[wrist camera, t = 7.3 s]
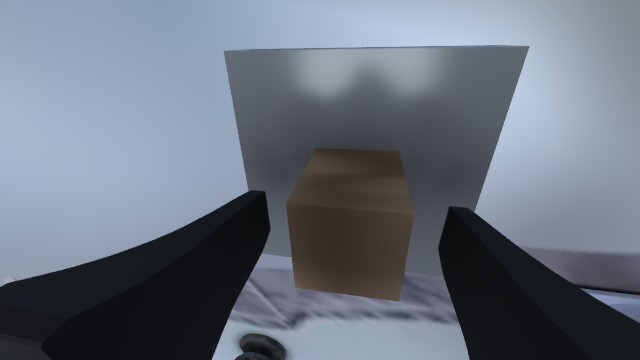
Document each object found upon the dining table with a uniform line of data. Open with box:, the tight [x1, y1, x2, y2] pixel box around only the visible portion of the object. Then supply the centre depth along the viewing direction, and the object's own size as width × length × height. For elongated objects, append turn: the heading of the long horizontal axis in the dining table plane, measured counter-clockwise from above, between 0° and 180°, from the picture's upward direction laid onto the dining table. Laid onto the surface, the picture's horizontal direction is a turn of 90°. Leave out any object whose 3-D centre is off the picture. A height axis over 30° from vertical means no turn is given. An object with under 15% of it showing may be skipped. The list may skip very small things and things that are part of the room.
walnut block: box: [286, 148, 415, 301], centre depth 11 cm, size 4×4×5 cm
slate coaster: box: [224, 45, 529, 276], centre depth 14 cm, size 12×12×2 cm
